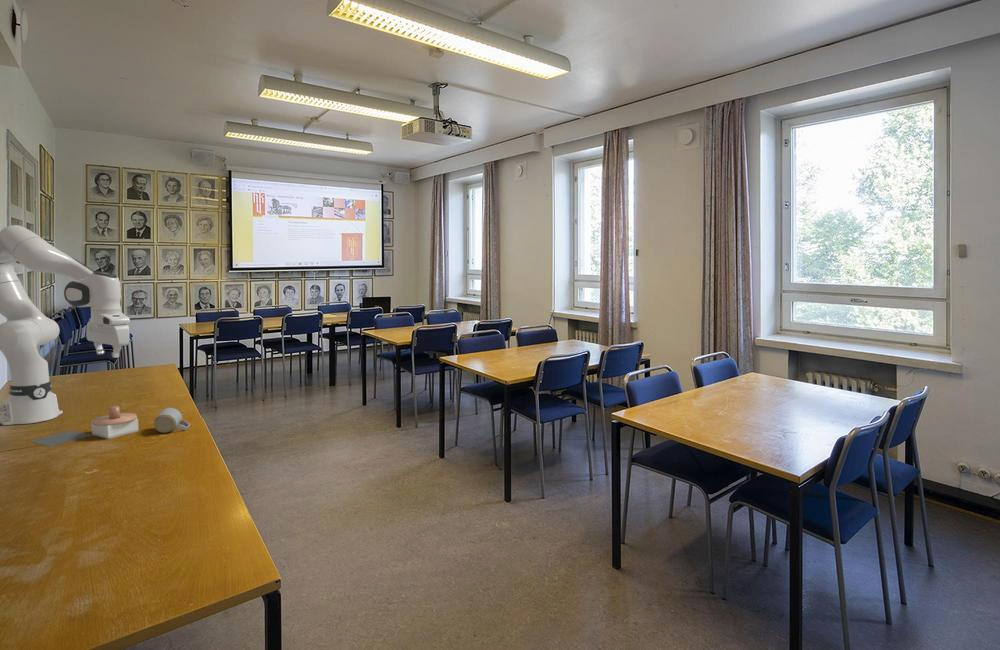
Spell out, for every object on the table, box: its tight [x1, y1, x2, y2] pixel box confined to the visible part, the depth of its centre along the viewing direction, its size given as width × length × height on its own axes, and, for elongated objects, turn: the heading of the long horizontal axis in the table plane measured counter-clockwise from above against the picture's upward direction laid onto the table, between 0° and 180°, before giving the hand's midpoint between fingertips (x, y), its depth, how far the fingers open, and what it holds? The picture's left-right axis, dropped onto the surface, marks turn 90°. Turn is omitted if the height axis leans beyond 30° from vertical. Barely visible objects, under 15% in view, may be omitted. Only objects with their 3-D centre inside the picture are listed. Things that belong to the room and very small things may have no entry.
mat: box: [28, 430, 93, 448], centre depth 184 cm, size 13×13×1 cm
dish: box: [90, 417, 140, 440], centre depth 190 cm, size 10×10×5 cm
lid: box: [91, 405, 138, 426], centre depth 189 cm, size 13×13×5 cm
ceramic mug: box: [153, 407, 190, 434], centre depth 195 cm, size 11×8×8 cm
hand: (107, 355), depth 191 cm, fingers open, 8 cm apart
